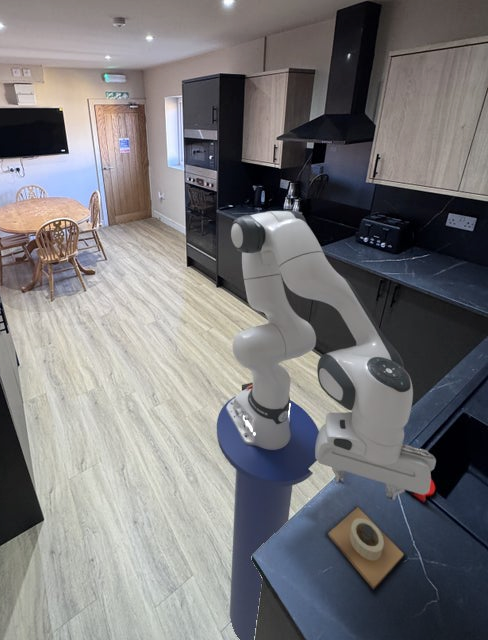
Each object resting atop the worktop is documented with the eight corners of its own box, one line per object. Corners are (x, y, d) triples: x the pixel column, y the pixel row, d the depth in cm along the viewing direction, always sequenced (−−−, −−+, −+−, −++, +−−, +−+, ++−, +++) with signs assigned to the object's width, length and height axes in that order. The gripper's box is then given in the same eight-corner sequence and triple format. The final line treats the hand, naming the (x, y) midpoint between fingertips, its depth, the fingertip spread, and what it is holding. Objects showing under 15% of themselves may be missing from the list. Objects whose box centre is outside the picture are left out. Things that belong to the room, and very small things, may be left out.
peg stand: (327, 535, 75) (330, 520, 74) (357, 509, 80) (360, 494, 79) (373, 590, 66) (377, 574, 65) (403, 556, 71) (407, 541, 70)
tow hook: (403, 460, 93) (390, 480, 87) (413, 425, 89) (400, 443, 83) (438, 484, 86) (427, 507, 81) (450, 447, 83) (440, 468, 77)
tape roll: (343, 536, 74) (345, 528, 73) (360, 521, 77) (362, 512, 76) (370, 567, 69) (372, 558, 68) (387, 549, 72) (390, 540, 71)
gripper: (432, 439, 62) (417, 490, 66) (319, 410, 69) (312, 458, 73) (444, 469, 57) (427, 523, 61) (319, 435, 63) (312, 485, 68)
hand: (363, 487), depth 67 cm, fingers open, 8 cm apart
